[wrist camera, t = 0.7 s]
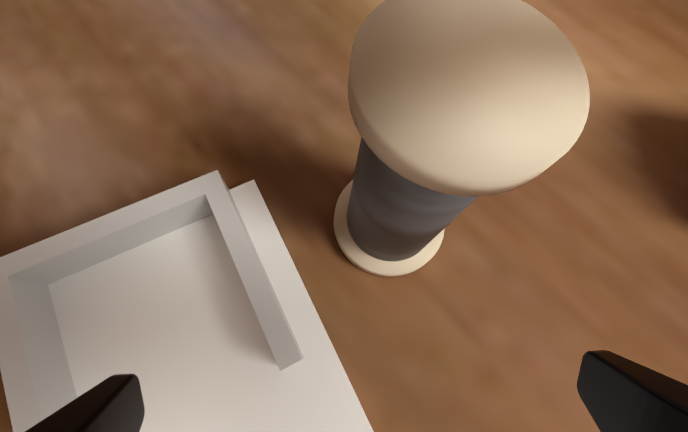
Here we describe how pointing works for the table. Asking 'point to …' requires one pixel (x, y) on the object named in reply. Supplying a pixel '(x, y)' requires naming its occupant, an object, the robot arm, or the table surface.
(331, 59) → the table surface
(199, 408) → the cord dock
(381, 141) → the disc
